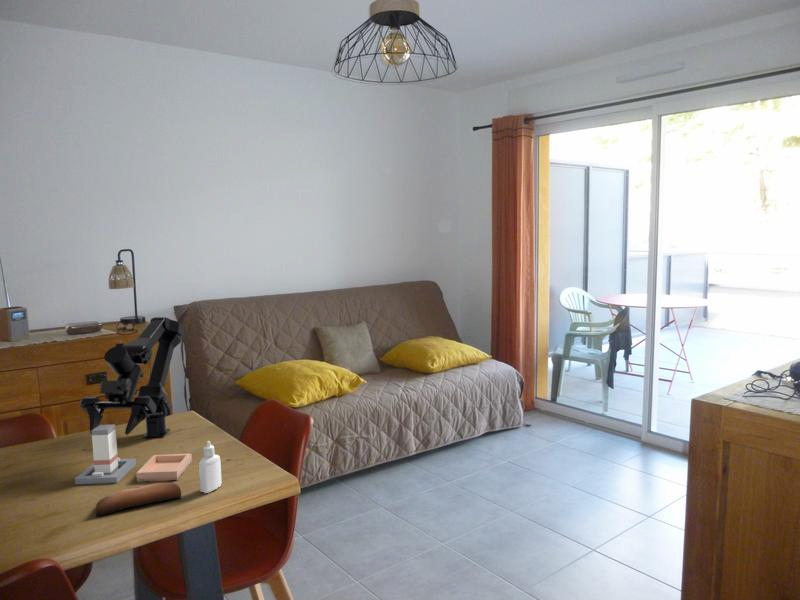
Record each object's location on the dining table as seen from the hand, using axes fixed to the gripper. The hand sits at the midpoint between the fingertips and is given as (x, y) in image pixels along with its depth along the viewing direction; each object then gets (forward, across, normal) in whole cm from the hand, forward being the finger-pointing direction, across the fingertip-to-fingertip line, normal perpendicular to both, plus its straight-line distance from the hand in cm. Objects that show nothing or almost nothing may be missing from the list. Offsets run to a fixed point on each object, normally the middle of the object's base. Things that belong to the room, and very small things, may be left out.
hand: (108, 434), depth 154 cm
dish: (+8, +15, +6) cm, 18 cm away
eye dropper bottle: (+16, +31, -2) cm, 35 cm away
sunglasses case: (+20, +16, -5) cm, 26 cm away
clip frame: (+8, 0, +5) cm, 10 cm away
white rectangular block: (+9, 0, +5) cm, 10 cm away
